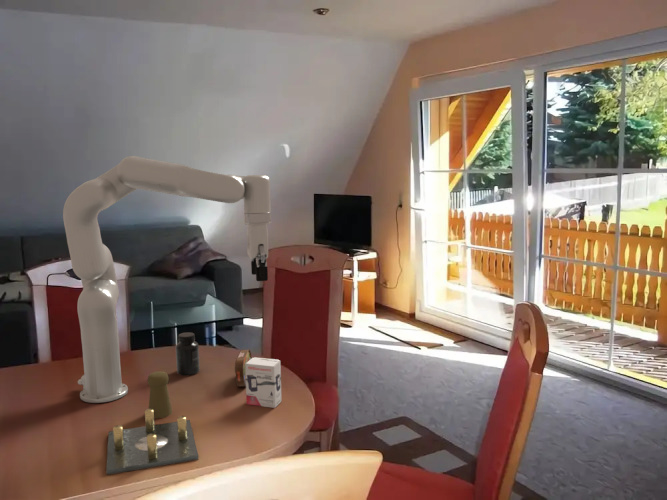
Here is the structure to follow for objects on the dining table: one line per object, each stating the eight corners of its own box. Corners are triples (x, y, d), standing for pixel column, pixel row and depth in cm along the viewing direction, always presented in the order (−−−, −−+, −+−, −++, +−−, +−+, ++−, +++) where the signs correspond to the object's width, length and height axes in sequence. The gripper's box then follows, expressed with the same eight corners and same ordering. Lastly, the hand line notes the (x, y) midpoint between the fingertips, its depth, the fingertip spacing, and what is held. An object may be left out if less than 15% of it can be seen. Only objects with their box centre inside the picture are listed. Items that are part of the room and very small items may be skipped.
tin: (245, 391, 172) (244, 362, 170) (234, 391, 172) (233, 362, 170) (253, 372, 186) (252, 345, 185) (243, 372, 187) (242, 345, 185)
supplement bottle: (196, 366, 191) (195, 330, 190) (202, 373, 185) (200, 336, 183) (175, 370, 189) (173, 333, 187) (179, 377, 182) (177, 339, 181)
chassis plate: (106, 474, 127) (104, 448, 126) (108, 435, 145) (107, 412, 144) (198, 459, 133) (197, 433, 132) (189, 423, 151) (188, 400, 150)
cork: (159, 420, 153) (156, 378, 151) (143, 415, 156) (140, 374, 155) (177, 411, 158) (174, 371, 157) (160, 406, 161) (158, 367, 160)
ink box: (245, 404, 162) (244, 362, 160) (253, 397, 167) (252, 356, 165) (275, 408, 160) (274, 365, 158) (282, 401, 164) (281, 359, 162)
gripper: (240, 216, 180) (242, 272, 183) (248, 222, 163) (250, 284, 166) (266, 215, 182) (267, 271, 185) (275, 221, 165) (277, 282, 168)
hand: (259, 277), depth 175 cm, fingers open, 9 cm apart
